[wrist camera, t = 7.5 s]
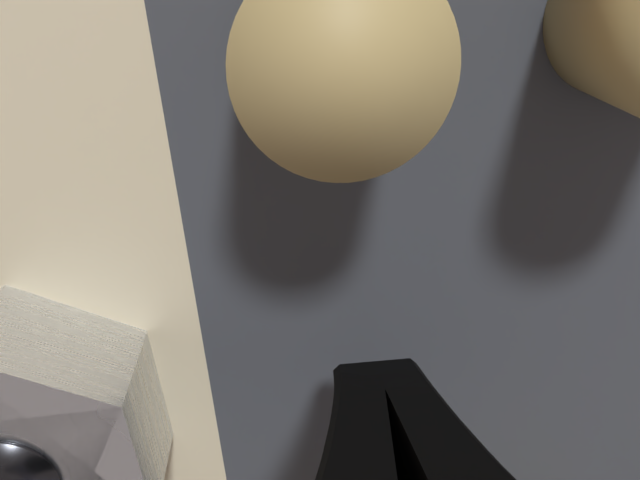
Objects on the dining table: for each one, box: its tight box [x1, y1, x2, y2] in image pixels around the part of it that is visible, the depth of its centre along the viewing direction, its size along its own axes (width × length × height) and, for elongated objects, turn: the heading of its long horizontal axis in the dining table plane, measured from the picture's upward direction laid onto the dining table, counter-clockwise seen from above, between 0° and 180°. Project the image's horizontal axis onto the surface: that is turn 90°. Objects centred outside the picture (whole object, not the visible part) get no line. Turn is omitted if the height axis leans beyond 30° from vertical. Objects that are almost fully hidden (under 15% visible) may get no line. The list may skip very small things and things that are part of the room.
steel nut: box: [0, 285, 174, 480], centre depth 10 cm, size 5×4×2 cm
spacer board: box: [0, 0, 640, 480], centre depth 11 cm, size 16×21×4 cm
